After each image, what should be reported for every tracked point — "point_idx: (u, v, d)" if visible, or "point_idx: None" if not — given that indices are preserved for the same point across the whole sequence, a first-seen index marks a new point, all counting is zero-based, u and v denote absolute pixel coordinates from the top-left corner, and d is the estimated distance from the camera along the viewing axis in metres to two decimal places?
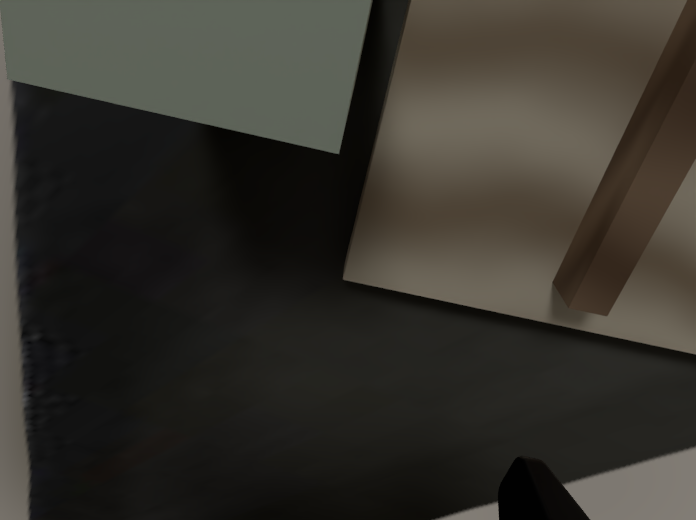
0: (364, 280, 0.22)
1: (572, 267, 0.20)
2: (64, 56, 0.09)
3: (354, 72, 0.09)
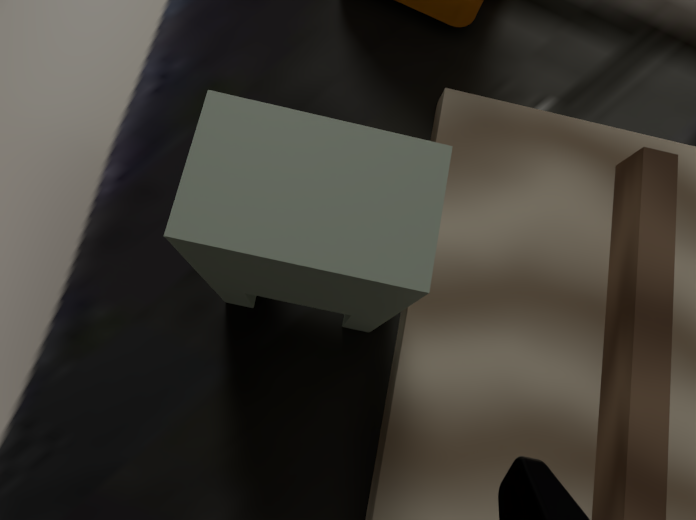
0: None
1: (607, 500, 0.19)
2: (217, 220, 0.12)
3: (438, 232, 0.13)
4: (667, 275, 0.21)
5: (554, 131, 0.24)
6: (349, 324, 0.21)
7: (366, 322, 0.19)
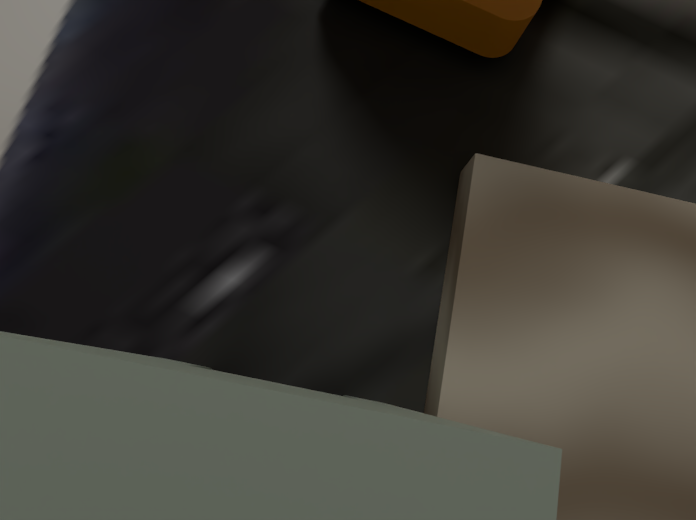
0: None
1: None
2: None
3: None
4: None
5: (641, 219, 0.16)
6: None
7: None
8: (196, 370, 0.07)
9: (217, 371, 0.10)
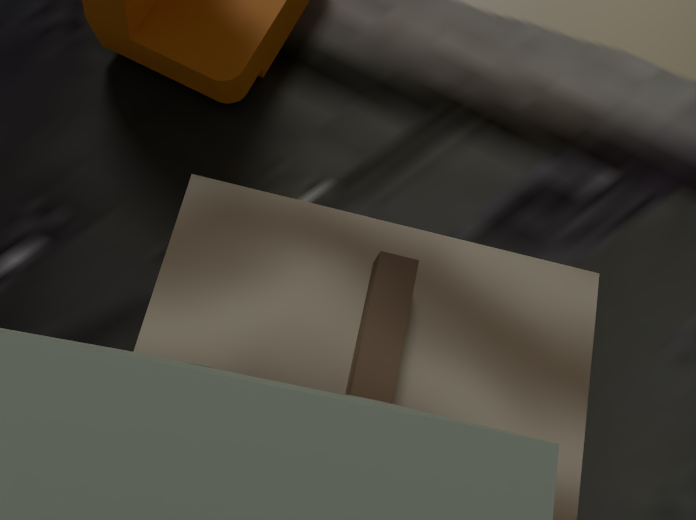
0: None
1: None
2: None
3: None
4: (384, 399, 0.19)
5: (309, 223, 0.22)
6: None
7: None
8: (195, 367, 0.07)
9: (216, 369, 0.10)
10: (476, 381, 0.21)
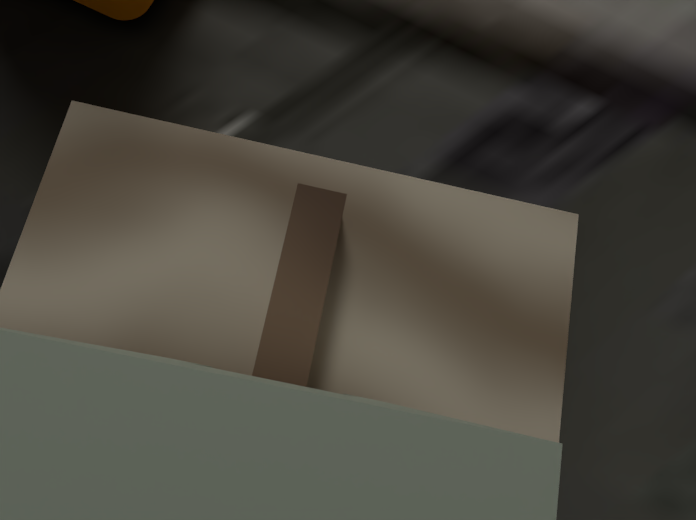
0: None
1: None
2: None
3: None
4: (300, 368, 0.15)
5: (218, 158, 0.18)
6: None
7: None
8: None
9: (218, 369, 0.10)
10: (426, 346, 0.17)
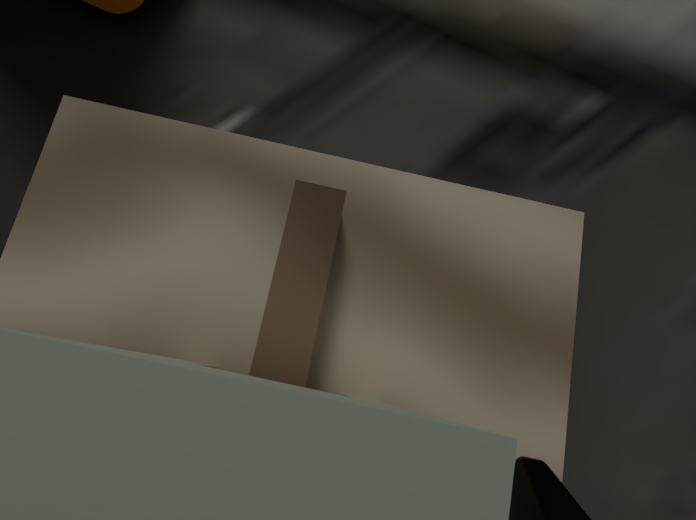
0: None
1: None
2: None
3: None
4: (298, 370, 0.14)
5: (214, 155, 0.17)
6: None
7: None
8: (207, 369, 0.08)
9: (223, 370, 0.11)
10: (428, 348, 0.17)
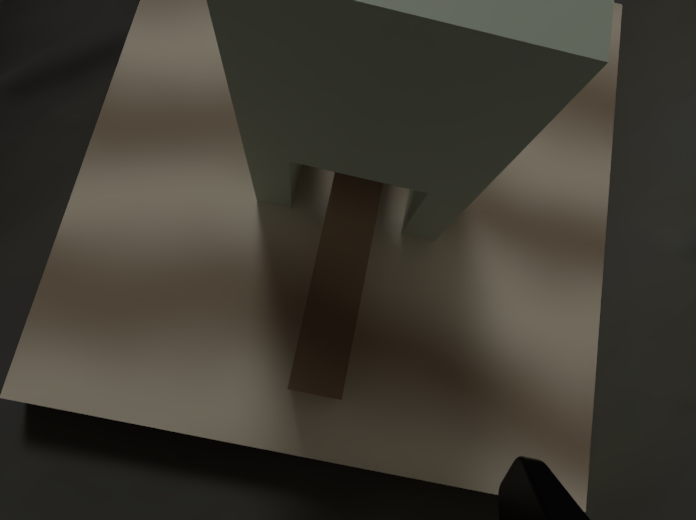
0: (31, 397, 0.16)
1: None
2: None
3: None
4: None
5: None
6: (414, 223, 0.17)
7: (442, 210, 0.15)
8: None
9: None
10: None
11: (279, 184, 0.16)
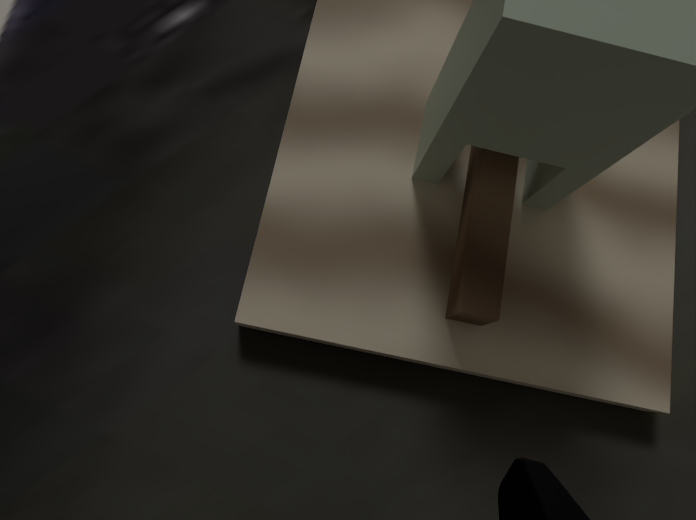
0: (257, 322, 0.21)
1: (456, 285, 0.21)
2: (546, 6, 0.13)
3: None
4: None
5: None
6: (538, 194, 0.22)
7: (569, 182, 0.20)
8: None
9: None
10: None
11: (443, 163, 0.21)
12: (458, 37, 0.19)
